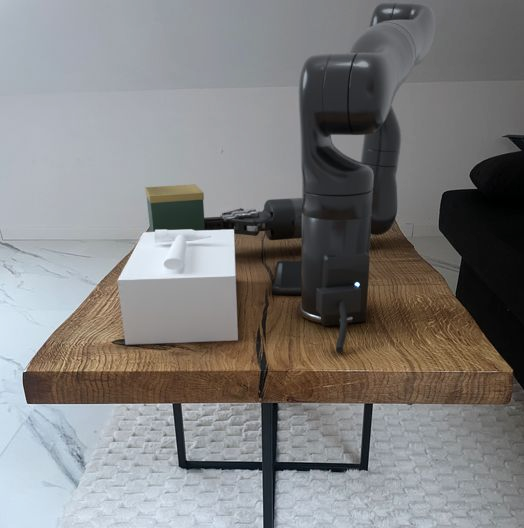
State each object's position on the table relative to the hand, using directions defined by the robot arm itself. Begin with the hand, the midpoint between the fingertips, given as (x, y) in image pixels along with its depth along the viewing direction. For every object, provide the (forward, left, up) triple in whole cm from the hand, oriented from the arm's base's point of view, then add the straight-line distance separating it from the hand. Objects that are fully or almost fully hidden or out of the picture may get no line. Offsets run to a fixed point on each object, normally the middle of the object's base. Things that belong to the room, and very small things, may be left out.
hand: (201, 224), depth 110 cm
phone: (-18, -13, -7) cm, 23 cm away
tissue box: (-26, +7, -7) cm, 27 cm away
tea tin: (0, +5, -6) cm, 8 cm away
